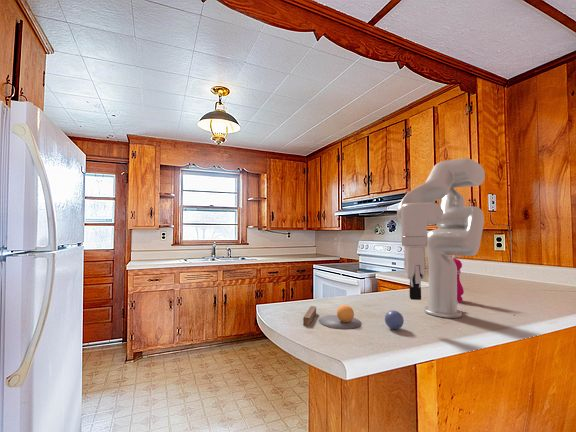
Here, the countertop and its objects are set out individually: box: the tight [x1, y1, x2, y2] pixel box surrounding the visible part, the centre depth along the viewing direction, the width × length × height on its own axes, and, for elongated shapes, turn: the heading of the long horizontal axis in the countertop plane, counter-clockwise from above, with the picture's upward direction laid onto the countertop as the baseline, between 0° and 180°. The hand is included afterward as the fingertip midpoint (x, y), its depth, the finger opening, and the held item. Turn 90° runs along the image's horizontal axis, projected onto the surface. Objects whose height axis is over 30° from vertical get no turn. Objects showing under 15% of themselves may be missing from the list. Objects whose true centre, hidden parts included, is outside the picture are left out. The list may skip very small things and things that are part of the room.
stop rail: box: [302, 305, 317, 327], centre depth 102 cm, size 2×14×2 cm, turn 166°
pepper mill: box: [451, 255, 465, 303], centre depth 132 cm, size 7×7×20 cm
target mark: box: [318, 314, 362, 330], centre depth 99 cm, size 14×14×1 cm
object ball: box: [336, 304, 355, 323], centre depth 99 cm, size 6×6×6 cm
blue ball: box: [384, 310, 404, 330], centre depth 94 cm, size 6×6×6 cm
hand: (415, 298), depth 95 cm, fingers closed
